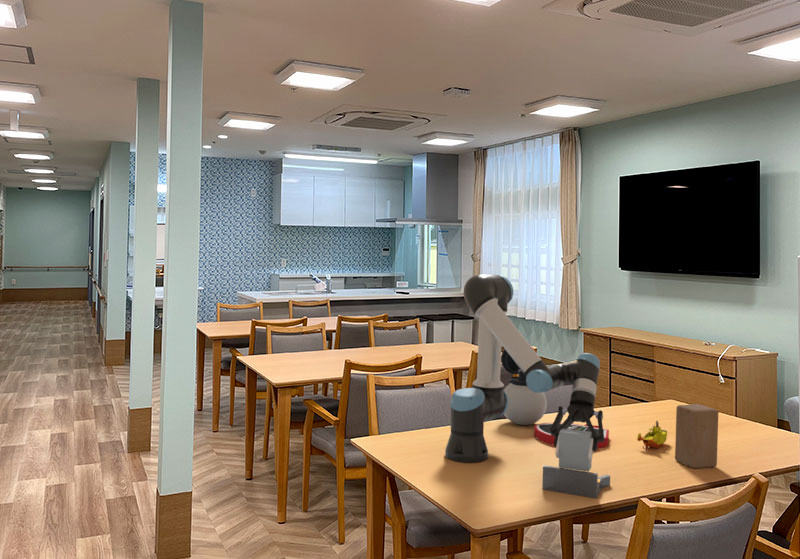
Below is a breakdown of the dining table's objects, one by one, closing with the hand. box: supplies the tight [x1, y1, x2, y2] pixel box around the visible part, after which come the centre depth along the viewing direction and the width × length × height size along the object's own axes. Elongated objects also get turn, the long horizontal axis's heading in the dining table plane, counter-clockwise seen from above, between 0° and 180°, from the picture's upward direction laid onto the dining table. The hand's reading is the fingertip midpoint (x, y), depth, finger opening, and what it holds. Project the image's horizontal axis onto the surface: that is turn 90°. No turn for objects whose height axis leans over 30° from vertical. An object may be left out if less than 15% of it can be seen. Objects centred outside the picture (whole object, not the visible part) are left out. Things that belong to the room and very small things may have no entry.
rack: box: [541, 464, 611, 499], centre depth 199 cm, size 14×20×7 cm
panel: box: [558, 429, 592, 472], centre depth 197 cm, size 4×9×11 cm, turn 64°
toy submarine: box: [636, 420, 668, 452], centre depth 244 cm, size 6×18×10 cm, turn 135°
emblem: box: [533, 422, 610, 450], centre depth 253 cm, size 30×4×30 cm
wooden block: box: [674, 403, 719, 469], centre depth 223 cm, size 10×10×20 cm
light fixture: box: [501, 348, 548, 426], centre depth 276 cm, size 20×23×33 cm
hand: (573, 457), depth 194 cm, fingers closed on panel, 9 cm apart
